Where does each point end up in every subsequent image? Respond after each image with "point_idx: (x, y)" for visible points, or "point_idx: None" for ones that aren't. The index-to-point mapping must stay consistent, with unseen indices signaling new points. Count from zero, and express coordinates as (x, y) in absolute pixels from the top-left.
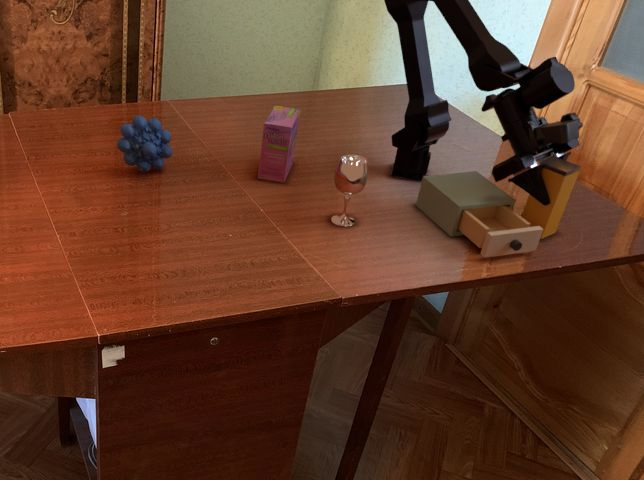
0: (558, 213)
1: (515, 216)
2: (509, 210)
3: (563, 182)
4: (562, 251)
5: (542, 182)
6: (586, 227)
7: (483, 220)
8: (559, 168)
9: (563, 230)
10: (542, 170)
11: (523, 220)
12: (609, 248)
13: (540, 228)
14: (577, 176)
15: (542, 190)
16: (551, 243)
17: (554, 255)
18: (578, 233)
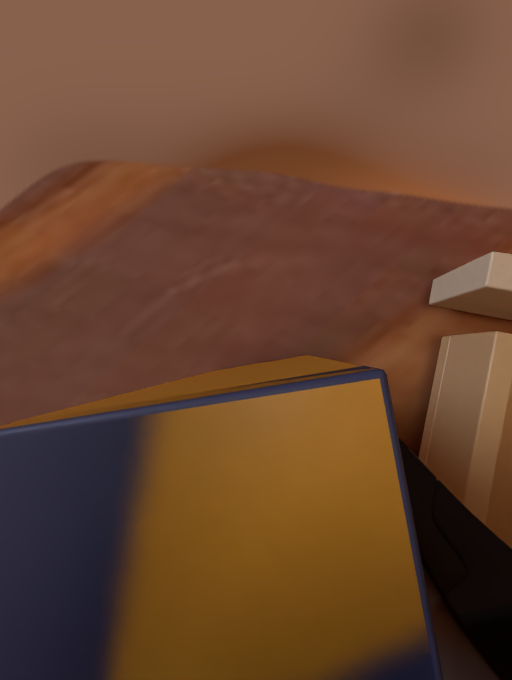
0: (236, 369)
1: (499, 431)
2: (488, 492)
3: (335, 365)
4: (300, 262)
5: (432, 518)
6: (74, 352)
7: (501, 538)
8: (376, 539)
9: (169, 372)
10: (504, 669)
11: (506, 373)
12: (129, 212)
13: (504, 261)
14: (65, 409)
15: (415, 458)
16: (290, 321)
17: (351, 253)
18: (138, 332)
